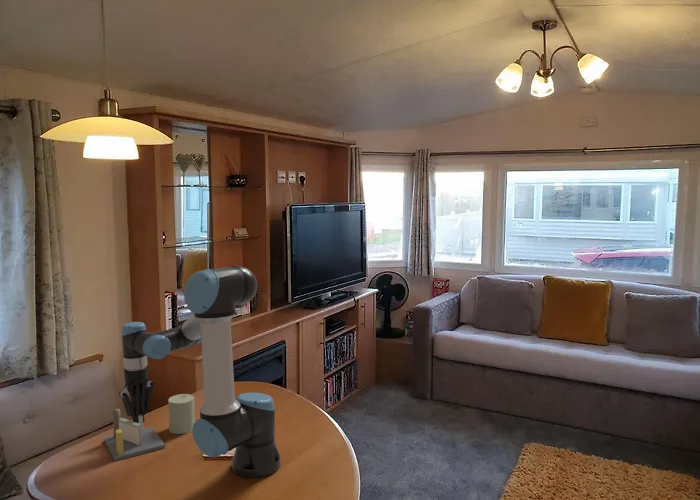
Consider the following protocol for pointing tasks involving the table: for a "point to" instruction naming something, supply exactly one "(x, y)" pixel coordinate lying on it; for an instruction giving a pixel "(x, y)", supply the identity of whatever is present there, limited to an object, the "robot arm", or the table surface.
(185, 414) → the can
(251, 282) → the robot arm
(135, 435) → the white framed panel
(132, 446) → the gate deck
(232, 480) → the table surface
